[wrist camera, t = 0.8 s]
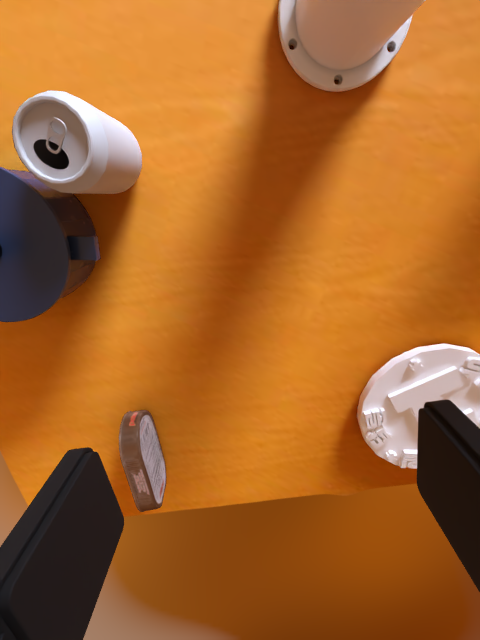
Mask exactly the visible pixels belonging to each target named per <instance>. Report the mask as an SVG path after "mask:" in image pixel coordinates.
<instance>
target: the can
mask: <svg viewBox="0 0 480 640" xmlns="http://www.w3.org/2000/svg"><path fill="white" fill-rule="evenodd" d="M12 135H13V141H14V146H15V149H16V151H17V153H18V155H19V158H20V160H21V161H22V162H23V164H24V165H25V166H26V167H27V169H28V170H29V171H30V172H31V173H32V174H33V175H34V176H35V178H37V179H38V180H39V181H41V182H42V183H43V184H44V185H46V186H47V187H49V188H52V189H54V190H57V191H59V192H63V193H82V194H117V193H120V192H124V191H126V190H127V189H129V188H130V187H131V186H133V185H134V183H135V182H136V180H137V179H138V177H139V175H140V171H141V167H142V154H141V151H140V147H139V144H138V142H137V140H136V138H135V137H134V135H133V134H132V132H131V131H130V130H129V129H128V128H127V127H125V126H124V125H123V124H122V123H120V122H119V121H117V120H115V119H114V118H112V117H110V116H109V115H107V114H105V113H103V112H102V111H100V110H98V109H97V108H95V107H93V106H92V105H90V104H88V103H86V102H85V101H83V100H81V99H80V98H77V97H75V96H73V95H71V94H69V93H66V92H62V91H50V90H49V91H46V92H43V93H40V94H36V95H35V96H34V97H32V98H29V99H28V100H27V101H25V102H24V103H23V104H22V105H21V106H20V107H19V109H18V111H17V113H16V115H15V117H14V121H13V128H12Z"/></svg>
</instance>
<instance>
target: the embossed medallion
mask: <svg viewBox="0 0 480 640" xmlns="http://www.w3.org/2000/svg"><path fill="white" fill-rule="evenodd" d="M445 399H447V400H450V401H452V402H453V403H454V404H455V405H456V406H457V407H458V408H459V409H460V410H461V411H462V412H463V413H464V414H465V415H466V416H467V417H468V418H469V419H470V420H471V421H472V422H473V423H475V424H476V425H477V426H478V427H479V428H480V354H478V353H476V352H475V351H473V350H471V349H470V348H467V347H461V346H456V345H450V344H444V343H443V344H436V345H429V346H422V347H416V348H414V349H412V350H410V351H406V352H403V354H401V355H399V356H396V357H394V358H392V359H391V360H390V361H388V362H387V363H386V364H385V365H384V366H383V367H381V368H380V369H379V370H378V371H377V372H376V373H375V374H373V375H372V377H371V378H370V380H369V382H368V383H367V385H366V387H365V388H364V390H363V392H362V393H361V395H360V399H359V405H358V407H357V409H358V412H357V419H358V422H359V426H360V430H361V433H362V436H363V438H364V440H365V442H366V443H367V444H368V445H369V446H370V447H371V449H372V450H373V451H374V452H375V453H376V454H377V456H379V457H381V458H383V459H385V460H387V461H389V462H391V463H393V464H395V465H397V466H400V467H401V468H406V467H409V468H412V469H414V468H417V447H418V412H419V409H420V408H424V404H425V403H426V402H431V401H438V400H445Z"/></svg>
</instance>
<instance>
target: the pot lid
mask: <svg viewBox="0 0 480 640" xmlns="http://www.w3.org/2000/svg"><path fill="white" fill-rule="evenodd" d="M70 270H71V254H70V247H69V242H68V238H67V236H66V233H65V230H64V227H63V225H62V223H61V221H60V219H59V217H58V216H57V214H56V213H55V211H54V209H53V208H52V207H51V205H50V204H49V203H48V202H47V200H46V199H45V198H44V197H43V196H42V195H41V194H40V193H39V192H38V191H37V190H36V189H35V188H34V187H33V186H32V185H30V184H29V183H28V182H27V181H25V180H24V179H22V178H21V177H19V176H18V175H16V174H14V173H12V172H10V171H8V170H7V169H4V168H2V167H0V321H1V322H17V321H23V320H27V319H31V318H34V317H36V316H38V315H40V314H42V313H44V312H45V311H47V310H48V309H49V308H51V307H52V306H53V305H54V304H55V303H56V302H57V301H58V300H59V298H60V297H61V296H62V294H63V292H64V290H65V288H66V286H67V283H68V280H69V276H70Z"/></svg>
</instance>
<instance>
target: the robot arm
mask: <svg viewBox="0 0 480 640" xmlns="http://www.w3.org/2000/svg"><path fill="white" fill-rule="evenodd" d="M424 2H425V0H279V6H278V28H279V37H280V40H281V44H282V48H283V51H284V53H285V55H286V57H287V60H288V62H289V63H290V65H291V66H292V68H293V69H294V70H295V72H296V73H297V74H298V75H299V76H300V77H301V78H302V79H303V80H304V81H306V82H307V83H309V84H311V85H312V86H314V87H316V88H319V89H322V90H325V91H334V92H340V91H347V90H351V89H354V88H357V87H360V86H362V85H364V84H365V83H367V82H369V81H370V80H372V79H373V78H374V77H375V76H377V75H378V74H379V73H380V72H381V71H382V70H383V69H384V68H385V67H386V66H387V65H388V64H389V63H390V62H391V61H392V59H393V58H394V57H395V55H396V54H397V52H398V51H399V49H400V47H401V45H402V43H403V41H404V39H405V37H406V35H407V32H408V29H409V25H410V22H411V19H412V14H413V13H414V12H415V11H416V10H417V9H418V8H419V7H420V6H421V5H422V4H423V3H424ZM290 45H293V46H294V49H293V50H291V49H290V48H289V46H290ZM387 48H389V49H390V52H388V50H387ZM334 80H338V84H337V85H336V84H335V83H334ZM417 486H418V489H419V491H420V494H421V496H422V498H423V499H424V501H425V503H426V504H427V506H428V507H429V509H430V511H431V512H432V514H433V516H434V517H435V519H436V521H437V522H438V524H439V526H440V527H441V529H442V531H443V532H444V534H445V536H446V537H447V539H448V540H449V542H450V544H451V546H452V547H453V549H454V551H455V552H456V554H457V555H458V557H459V559H460V560H461V562H462V564H463V565H464V567H465V569H466V570H467V572H468V574H469V575H470V577H471V579H472V580H473V582H474V584H475V585H476V587H477V588H478V590H479V592H480V428H479V427H478V426H477V425H476V424H475V423H473V422H472V421H471V420H470V419H469V418H468V417H467V416H466V415H465V414H464V413H463V412H462V411H461V410H460V409H459V408H458V407H457V406H456V405H455V404H454V403H453V402H452V401H450V400H447V399H445V400H438V401H431V402H426V403H425V404H424V408H420V409H419V412H418V447H417ZM123 526H124V517H123V514H122V511H121V509H120V506H119V504H118V501H117V499H116V496H115V494H114V491H113V489H112V486H111V484H110V481H109V479H108V476H107V474H106V471H105V469H104V466H103V464H102V461H101V459H100V456H99V454H98V453H97V452H94V451H93V450H92V449H91V448H89V447H87V448H80V449H72V450H69V451H68V452H67V453H66V454H65V455H64V457H63V458H62V460H61V461H60V462H59V464H58V465H57V467H56V468H55V470H54V471H53V472H52V474H51V475H50V477H49V478H48V480H47V481H46V482H45V484H44V485H43V487H42V488H41V490H40V491H39V492H38V494H37V495H36V497H35V498H34V500H33V501H32V502H31V504H30V505H29V507H28V508H27V510H26V511H25V513H24V514H23V516H22V517H21V518H20V520H19V521H18V523H17V524H16V525H15V527H14V528H13V530H12V531H11V533H10V534H9V536H8V537H7V538H6V540H5V541H4V543H3V544H2V545H1V547H0V640H83V638H84V635H85V632H86V629H87V627H88V624H89V621H90V619H91V616H92V613H93V610H94V608H95V605H96V602H97V599H98V597H99V594H100V591H101V588H102V586H103V583H104V580H105V577H106V575H107V572H108V569H109V566H110V564H111V561H112V558H113V555H114V553H115V550H116V547H117V544H118V542H119V539H120V536H121V533H122V531H123Z"/></svg>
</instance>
